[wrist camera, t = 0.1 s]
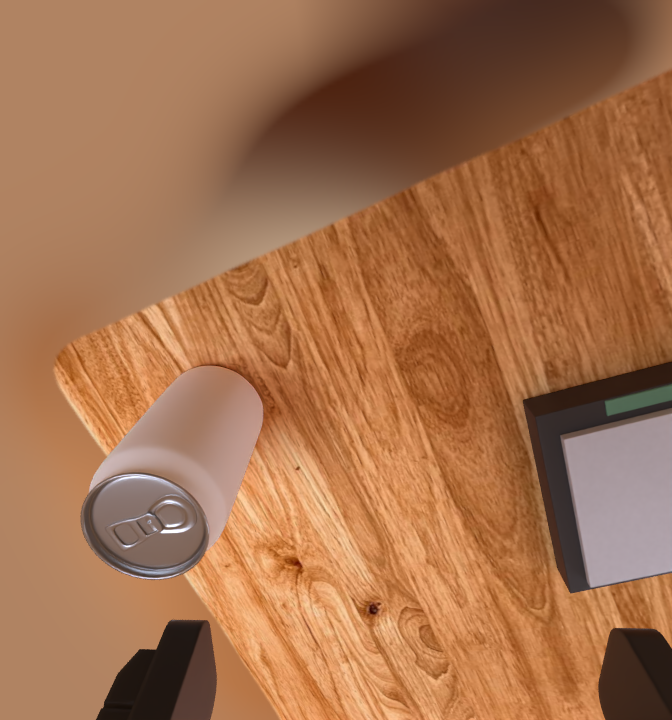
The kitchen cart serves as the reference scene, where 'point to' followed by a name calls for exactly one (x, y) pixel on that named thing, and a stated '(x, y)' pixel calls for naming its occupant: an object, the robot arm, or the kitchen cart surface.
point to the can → (174, 476)
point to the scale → (607, 476)
